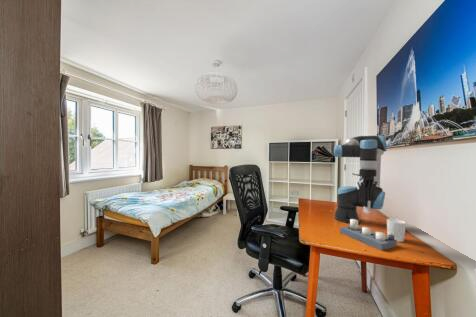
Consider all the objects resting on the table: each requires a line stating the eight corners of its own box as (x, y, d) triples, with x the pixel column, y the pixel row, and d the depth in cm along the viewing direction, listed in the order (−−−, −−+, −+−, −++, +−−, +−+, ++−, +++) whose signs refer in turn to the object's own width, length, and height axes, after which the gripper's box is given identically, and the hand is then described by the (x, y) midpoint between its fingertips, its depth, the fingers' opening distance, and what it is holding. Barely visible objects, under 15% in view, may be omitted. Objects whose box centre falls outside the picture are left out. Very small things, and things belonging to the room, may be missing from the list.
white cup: (405, 239, 102) (406, 221, 102) (404, 244, 97) (405, 224, 97) (387, 234, 108) (387, 217, 108) (385, 239, 102) (385, 220, 102)
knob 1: (352, 227, 111) (353, 218, 111) (359, 229, 107) (359, 220, 107) (348, 227, 109) (348, 219, 109) (354, 230, 106) (355, 221, 106)
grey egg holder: (354, 230, 114) (354, 219, 114) (396, 246, 94) (396, 233, 94) (340, 232, 110) (340, 222, 110) (381, 250, 89) (381, 237, 89)
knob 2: (378, 240, 98) (378, 231, 98) (387, 244, 94) (387, 234, 94) (373, 242, 97) (373, 232, 96) (382, 245, 93) (382, 235, 93)
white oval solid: (364, 235, 105) (365, 226, 104) (372, 238, 101) (372, 229, 101) (360, 236, 103) (360, 227, 103) (367, 239, 99) (367, 230, 99)
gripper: (368, 168, 108) (367, 209, 108) (352, 168, 102) (351, 211, 103) (383, 169, 101) (381, 213, 101) (367, 169, 96) (365, 216, 96)
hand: (366, 212), depth 102 cm, fingers closed
